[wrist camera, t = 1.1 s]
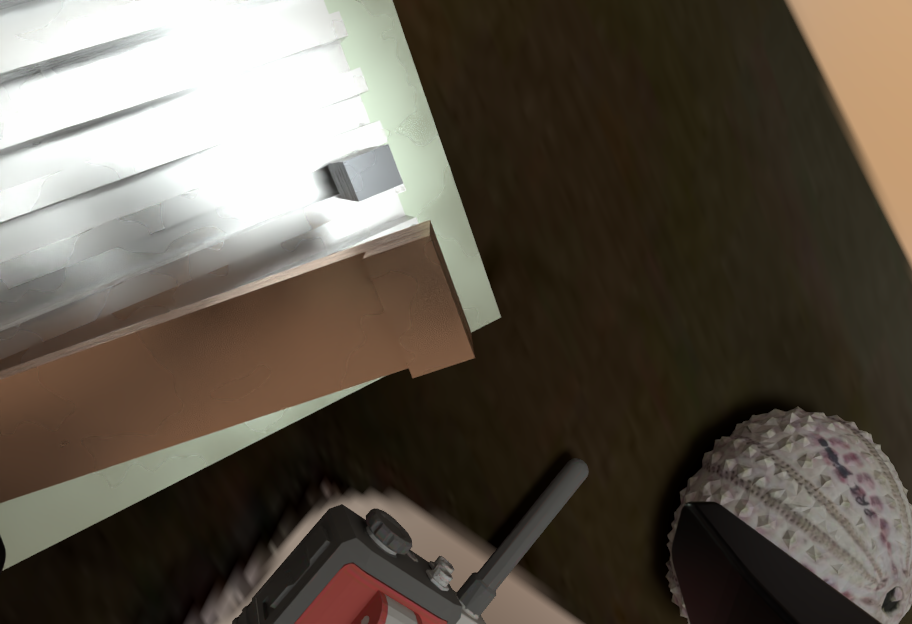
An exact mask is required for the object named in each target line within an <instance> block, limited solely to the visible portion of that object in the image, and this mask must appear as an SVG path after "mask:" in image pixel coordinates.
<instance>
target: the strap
mask: <svg viewBox="0 0 912 624" xmlns="http://www.w3.org/2000/svg"><path fill="white" fill-rule="evenodd" d="M473 358H475V355H474V349H473V342H472V336H471V330H470V327H469V325H468V322H467V319H466V316H465V314H464V311H463V308H462V305H461V303H460V300H459V297H458V294H457V292H456V289H455V286H454V284H453V281H452V278H451V275H450V273H449V270H448V267H447V264H446V262H445V259H444V256H443V254H442V251H441V248H440V245H439V243H438V240H437V237H436V234H435V232H434V229H433V226H432V224H431V221H430V220H428V221H425V222H422V223H419V224H416V225H414V226H411V227H408V228H405V229H402V230H399V231H397V232H394V233H391V234H388V235H385V236H382V237H379V238H377V239H374V240H371V241H368V242H365V243H362V244H360V245H357V246H354V247H351V248H348V249H345V250H343V251H340V252H337V253H334V254H331V255H328V256H326V257H323V258H320V259H317V260H314V261H311V262H309V263H306V264H303V265H300V266H297V267H294V268H291V269H289V270H286V271H283V272H280V273H277V274H274V275H272V276H269V277H266V278H263V279H260V280H257V281H255V282H252V283H249V284H246V285H243V286H240V287H238V288H235V289H232V290H229V291H226V292H223V293H221V294H218V295H215V296H212V297H209V298H206V299H203V300H201V301H198V302H195V303H192V304H189V305H186V306H184V307H181V308H178V309H175V310H172V311H169V312H167V313H164V314H161V315H158V316H155V317H152V318H150V319H147V320H144V321H141V322H138V323H135V324H132V325H130V326H127V327H124V328H121V329H118V330H115V331H113V332H110V333H107V334H104V335H101V336H98V337H96V338H93V339H90V340H87V341H84V342H81V343H79V344H76V345H73V346H70V347H67V348H64V349H62V350H59V351H56V352H53V353H50V354H47V355H44V356H42V357H39V358H36V359H33V360H30V361H27V362H25V363H22V364H19V365H16V366H13V367H10V368H8V369H5V370H2V371H0V503H2V502H5V501H8V500H11V499H14V498H17V497H20V496H23V495H26V494H29V493H32V492H35V491H39V490H42V489H45V488H48V487H51V486H54V485H57V484H60V483H63V482H66V481H69V480H72V479H75V478H78V477H81V476H84V475H87V474H90V473H93V472H96V471H99V470H102V469H105V468H108V467H111V466H114V465H117V464H120V463H123V462H126V461H129V460H132V459H135V458H138V457H141V456H144V455H147V454H150V453H153V452H156V451H159V450H162V449H166V448H169V447H172V446H175V445H178V444H181V443H184V442H187V441H190V440H193V439H196V438H199V437H202V436H205V435H208V434H211V433H214V432H217V431H220V430H223V429H226V428H229V427H232V426H235V425H238V424H241V423H244V422H247V421H250V420H253V419H256V418H259V417H262V416H265V415H268V414H271V413H274V412H277V411H280V410H283V409H286V408H289V407H293V406H296V405H299V404H302V403H305V402H308V401H311V400H314V399H317V398H320V397H323V396H326V395H329V394H332V393H335V392H338V391H341V390H344V389H347V388H350V387H353V386H356V385H359V384H362V383H365V382H368V381H371V380H374V379H377V378H380V377H383V376H386V375H389V374H392V373H395V372H398V371H401V370H404V369H407V368H409V370H410V373H411V375H412V378H415V377H418V376H421V375H424V374H427V373H430V372H433V371H437V370H440V369H443V368H446V367H449V366H452V365H455V364H458V363H461V362H464V361H467V360H470V359H473Z"/></svg>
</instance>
